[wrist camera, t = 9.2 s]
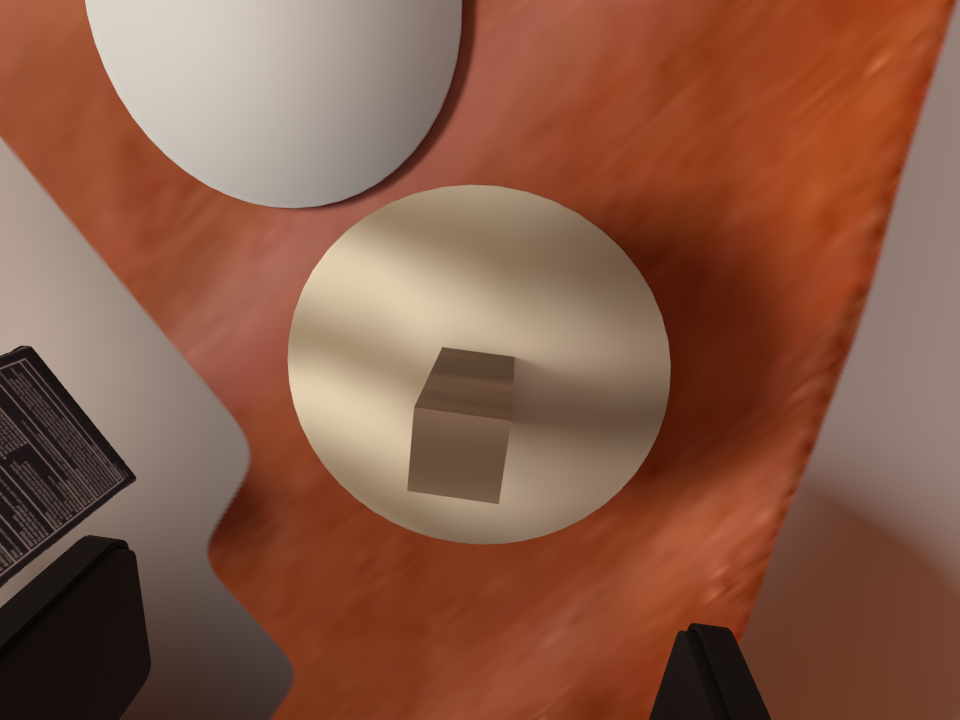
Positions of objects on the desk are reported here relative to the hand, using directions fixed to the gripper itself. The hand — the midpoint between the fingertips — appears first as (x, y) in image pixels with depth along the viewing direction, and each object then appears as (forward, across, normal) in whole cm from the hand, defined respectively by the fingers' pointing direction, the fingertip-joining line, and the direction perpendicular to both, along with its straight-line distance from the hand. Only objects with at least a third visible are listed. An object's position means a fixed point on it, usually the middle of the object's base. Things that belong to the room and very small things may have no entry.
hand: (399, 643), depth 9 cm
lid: (+15, 0, +1) cm, 15 cm away
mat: (+22, +12, -13) cm, 28 cm away
